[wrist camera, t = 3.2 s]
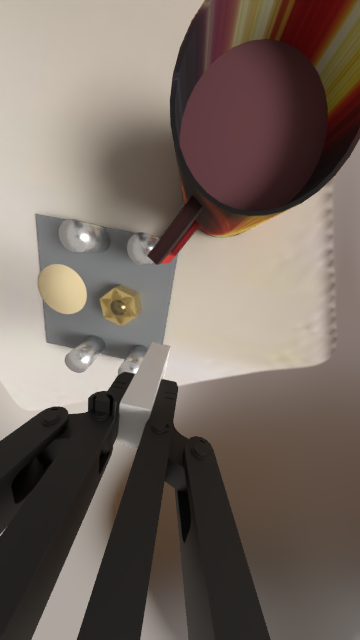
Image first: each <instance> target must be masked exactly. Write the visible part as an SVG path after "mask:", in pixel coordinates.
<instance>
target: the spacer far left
mask: <svg viewBox="0 0 360 640" xmlns="http://www.w3.org/2000/svg"><path fill="white" fill-rule="evenodd" d="M105 348H106V344H105V342H104V340H103V339H102V338H101V337H99V336H90V337H89V338H88V339H86V340H85V341H84V342H83V343H81V344H80V345H79V346H77V347H76V348H75V349H74V350H72V351H71V352H70V353H68V354H67V355H66V357H65V363H66V365H67V367H68V368H69V369H70V370H72V371H74V372H78V373H81V372H84V371H85V370H86V369H87V368H88V367H89V366H90V365H91V364H92V363H93V362H94V361H95V360H96V359H97V358H98V357H99V356H100V355H101V354H102V352H103V351H104V350H105Z"/></svg>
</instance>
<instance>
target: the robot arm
mask: <svg viewBox="0 0 360 640" xmlns="http://www.w3.org/2000/svg"><path fill="white" fill-rule="evenodd" d="M169 351H170V346H168V345H163V344H159V343H154V342H152V344H151V345H150V347H149V349H148V351H147V353H146V355H145V357H144V359H143V360H142V362H141V364H140V366H139V368H138V370H137V372H136V374H134V373H129V372H122V373H121V374H119V375H118V376H117V378H116V379H115V381H114V382H113V384H112V385H111V387H110V388H109V390H108V391H101V392H97V393H95V394H92V395H91V396H90V397H89V398H88V412H86V413H79V414H68V411H67V410H66V409H65V408H63V407H51V408H48V409H45V410H44V411H42V412H40V413H39V414H37V415H36V416H35V417H33V418H32V419H30V420H29V421H28V422H26V423H25V424H23V425H22V426H21V427H19V428H18V429H17V430H15V431H14V432H13V433H11V434H10V435H8V436H7V437H5V438H4V439H3V440H1V441H0V534H1V533H2V532H3V530H4V529H5V528H6V527H7V528H6V529H5V531H4V532H3V534H2V535H1V536H0V640H31V639H32V637H33V634H34V632H35V630H36V627H37V625H38V622H39V620H40V618H41V616H42V613H43V611H44V609H45V607H46V604H47V602H48V600H49V597H50V595H51V592H52V590H53V588H54V586H55V583H56V581H57V579H58V576H59V574H60V572H61V570H62V567H63V565H64V563H65V560H66V558H67V556H68V554H69V551H70V549H71V547H72V544H73V542H74V540H75V537H76V535H77V532H78V531H79V528H80V526H81V524H82V521H83V519H84V517H85V514H86V512H87V510H88V507H89V505H90V503H91V500H92V498H93V496H94V494H95V491H96V489H97V487H98V484H99V482H100V480H101V478H102V475H103V473H104V471H105V468H106V466H107V464H108V461H109V459H110V457H111V454H112V450H113V444H114V442H115V440H116V438H117V441H116V442H117V443H119V444H123V445H128V446H132V447H137V448H138V449H137V452H136V455H135V459H134V462H133V465H132V468H131V471H130V474H129V477H128V481H127V484H126V487H125V490H124V493H123V496H122V499H121V503H120V506H119V509H118V513H117V515H116V518H115V522H114V525H113V528H112V531H111V534H110V537H109V540H108V543H107V546H106V550H105V553H104V556H103V559H102V562H101V565H100V568H99V572H98V575H97V578H96V581H95V584H94V587H93V590H92V594H91V597H90V600H89V603H88V606H87V609H86V612H85V616H84V619H83V622H82V625H81V628H80V632H79V635H78V638H77V640H140V637H141V630H142V624H143V617H144V611H145V604H146V598H147V591H148V585H149V578H150V572H151V565H152V559H153V552H154V546H155V538H156V533H157V526H158V520H159V513H160V507H161V500H162V494H163V487H164V481H166V482H167V483H168V484H170V485H171V486H172V487H174V488H175V498H176V509H177V519H178V530H179V541H180V552H181V562H182V573H183V584H184V594H185V605H186V616H187V626H188V637H189V640H270V636H269V633H268V630H267V626H266V623H265V620H264V616H263V613H262V610H261V607H260V604H259V600H258V597H257V593H256V590H255V587H254V584H253V580H252V577H251V573H250V570H249V567H248V564H247V560H246V557H245V553H244V550H243V547H242V543H241V540H240V537H239V534H238V530H237V527H236V524H235V520H234V517H233V514H232V510H231V507H230V504H229V500H228V497H227V494H226V490H225V487H224V484H223V480H222V477H221V474H220V470H219V467H218V464H217V460H216V457H215V454H214V450H213V449H212V446H211V444H210V443H209V442H208V441H207V440H205V439H203V438H202V437H197V436H195V437H191V438H190V439H188V438H186V437H184V436H182V435H181V434H180V433H179V432H177V430H176V429H175V427H174V424H173V418H174V411H175V406H176V399H177V393H178V386H177V383H176V382H174V381H169V380H164V377H165V373H166V367H167V362H168V356H169Z"/></svg>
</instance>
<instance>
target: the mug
mask: <svg viewBox="0 0 360 640" xmlns="http://www.w3.org/2000/svg"><path fill="white" fill-rule="evenodd" d="M170 117H171V129H172V135H173V140H174V146H175V152H176V157H177V163H178V169H179V174H180V180H181V186H182V191H183V197H184V202H185V206H184V207H183V208H182V210H181V211H180V213H179V214H178V215H177V217H176V218H175V219H174V221H173V222H172V223H171V225H170V226H169V227H168V229H167V230H166V232H165V233H164V234H163V236H162V237H161V238H160V240H159V241H158V242H157V244H156V245H155V246H154V248H153V249H152V250H151V251H150V252H149V254H148V255H147V256H148V257H149V258H150V259H151V260H152V261H153V262H154V263H155V264H156V265H159V264H163V263H165V264H166V263H170V262H171V261H172V260H173V259H174V258H175V256H176V255H177V254H178V253H179V251H180V250H181V249H182V248H183V246H184V245H185V244H186V242H187V241H188V240H189V239H190V237H191V236H192V235H193V234H194V232H195V231H196V230H197V229H198V228H199V229H201V230H202V231H204V232H205V233H207V234H210V235H212V236H216V237H231V236H235V235H238V234H241V233H243V232H245V231H247V230H249V229H251V228H253V227H255V226H257V225H259V224H261V223H263V222H265V221H267V220H269V219H271V218H273V217H275V216H277V215H279V214H281V213H283V212H285V211H287V210H289V209H291V208H293V207H295V206H297V205H299V204H301V203H302V202H304V201H305V200H307V199H308V198H310V197H311V196H312V195H314V194H315V193H317V192H318V191H319V190H320V189H321V188H323V187H324V186H325V185H326V184H327V183H328V182H329V181H330V180H331V179H332V178H333V177H334V176H335V175H336V174H337V172H338V171H339V170H340V168H341V167H342V166H343V164H344V163H345V162H346V160H347V159H348V158H349V157H350V155H351V153H352V151H353V150H354V148H355V146H356V144H357V143H358V141H359V139H360V0H205V1H204V2H203V4H202V6H201V7H200V9H199V10H198V12H197V13H196V15H195V17H194V18H193V20H192V21H191V24H190V26H189V28H188V31H187V33H186V35H185V37H184V40H183V42H182V44H181V47H180V50H179V54H178V57H177V61H176V65H175V69H174V72H173V78H172V87H171V96H170Z"/></svg>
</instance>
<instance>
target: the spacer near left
mask: <svg viewBox="0 0 360 640" xmlns="http://www.w3.org/2000/svg"><path fill="white" fill-rule="evenodd" d="M59 238H60V241H61V243H62V244H63V246H64V247H65V248H66V249H68V250H70V251H72V252H104V251H106V250H107V249H108V248H109V245H110V236H109V234H108V232H107V231H106V230H105V229H104V228H103V227H100V226H97V225H93V224H89V223H85V222H81V221H77V220H73V219H68V220H65V221H63V222H62V224H61V225H60V227H59Z"/></svg>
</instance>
